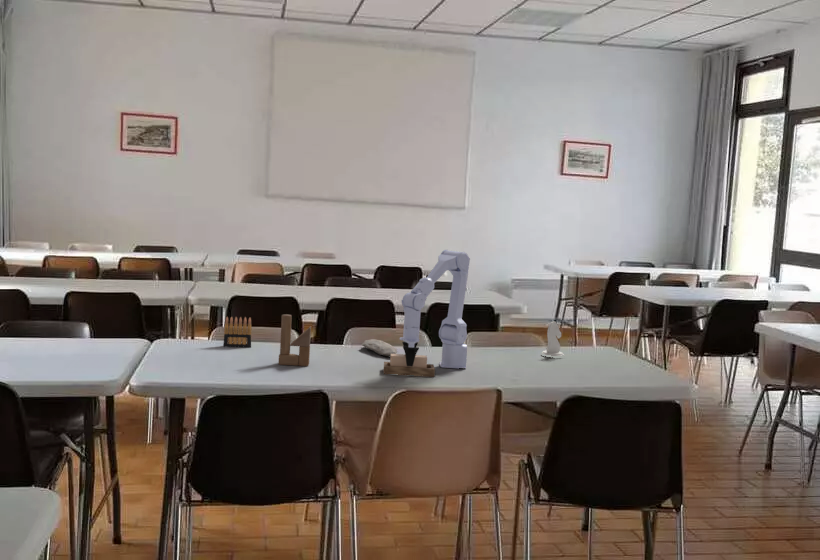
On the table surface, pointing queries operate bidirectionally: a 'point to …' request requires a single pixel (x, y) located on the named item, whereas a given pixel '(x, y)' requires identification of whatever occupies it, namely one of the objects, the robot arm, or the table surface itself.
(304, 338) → the tan wooden block stack
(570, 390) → the table surface
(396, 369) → the wooden tray
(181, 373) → the table surface
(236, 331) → the ammunition clip
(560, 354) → the chess piece
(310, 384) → the table surface
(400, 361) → the tan rectangular block
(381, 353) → the stone tool
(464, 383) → the table surface
